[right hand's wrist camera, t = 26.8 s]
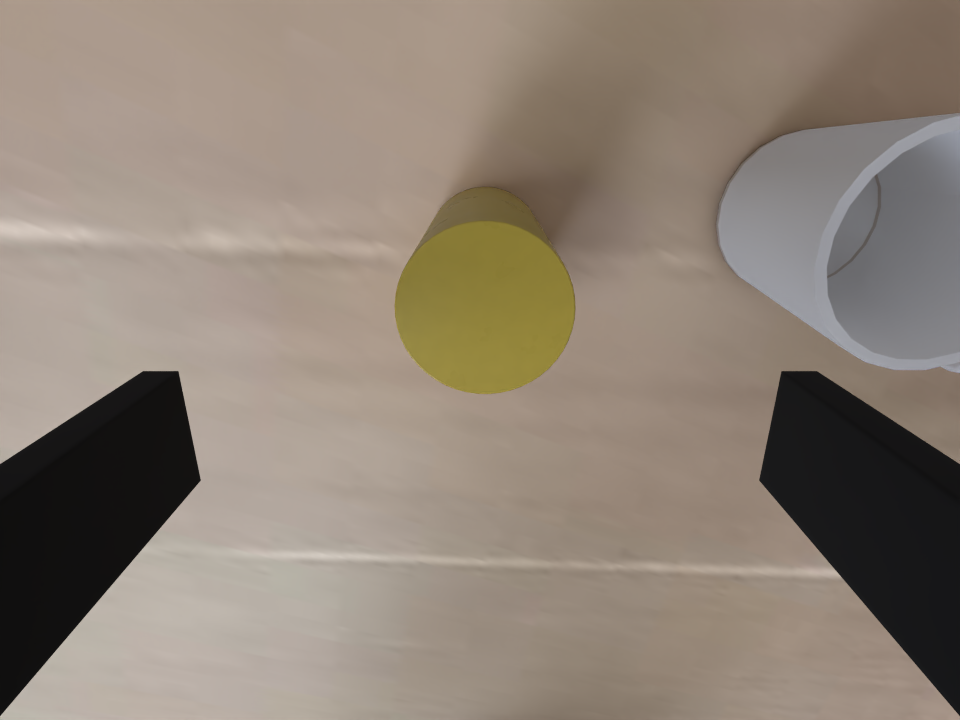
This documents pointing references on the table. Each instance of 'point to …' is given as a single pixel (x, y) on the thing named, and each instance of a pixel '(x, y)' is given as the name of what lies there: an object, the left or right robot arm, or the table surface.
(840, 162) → the mug
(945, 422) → the table surface
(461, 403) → the table surface
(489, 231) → the canister
